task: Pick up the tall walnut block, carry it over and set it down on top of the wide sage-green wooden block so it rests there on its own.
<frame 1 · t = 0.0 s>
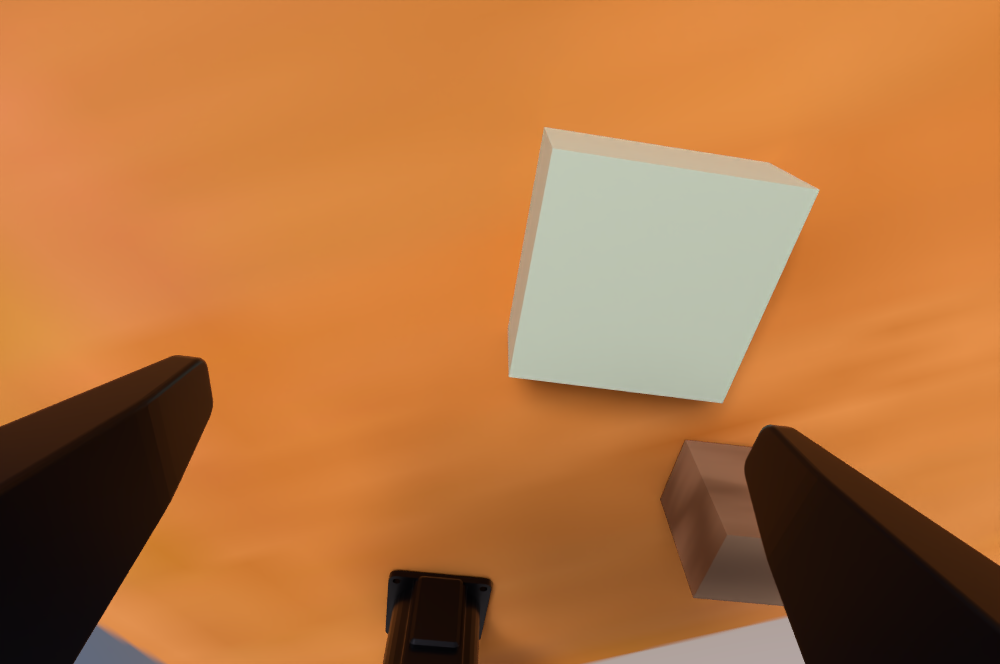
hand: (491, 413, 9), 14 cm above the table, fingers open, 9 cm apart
sage base block: (626, 251, 23), on the table
walnut block: (711, 474, 29), on the table
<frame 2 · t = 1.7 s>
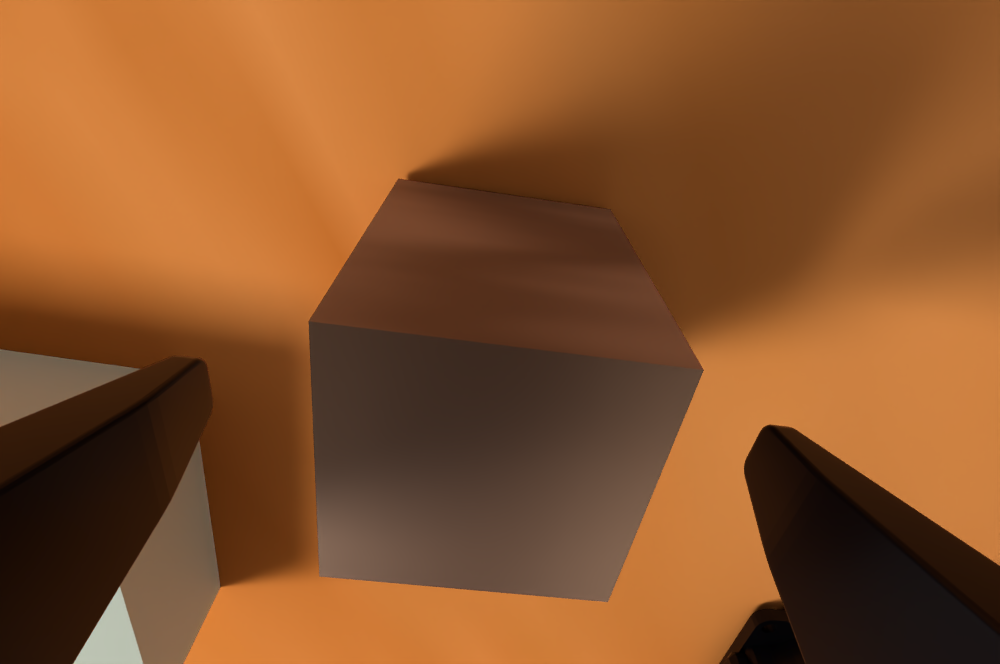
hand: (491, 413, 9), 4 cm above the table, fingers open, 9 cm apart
sage base block: (51, 474, 16), on the table
walnut block: (491, 289, 12), on the table
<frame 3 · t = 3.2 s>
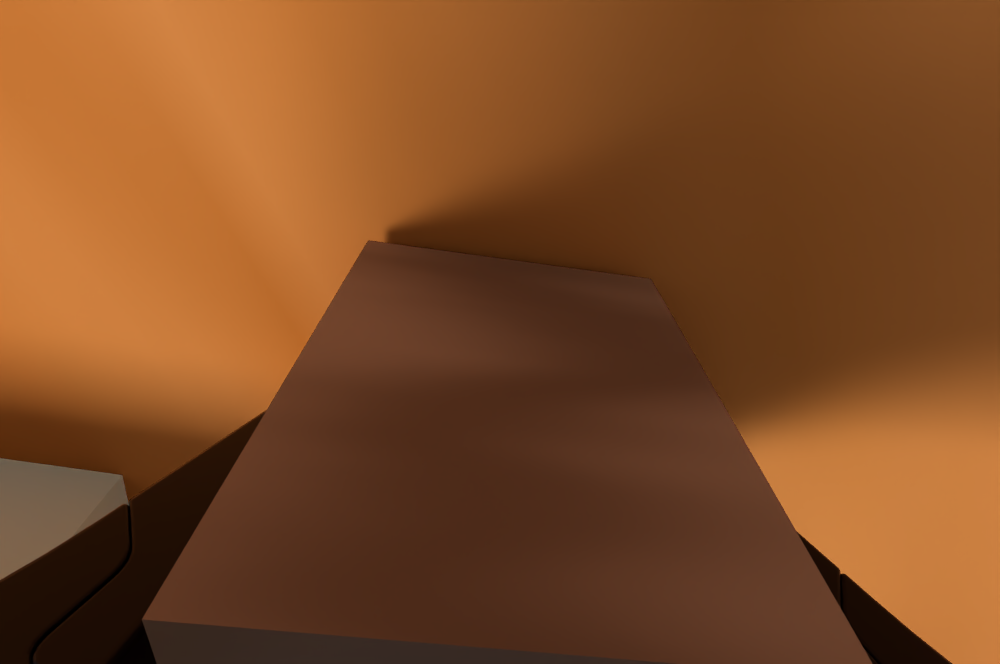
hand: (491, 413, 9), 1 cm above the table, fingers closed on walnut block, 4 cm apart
walnut block: (492, 376, 9), on the table, touching gripper
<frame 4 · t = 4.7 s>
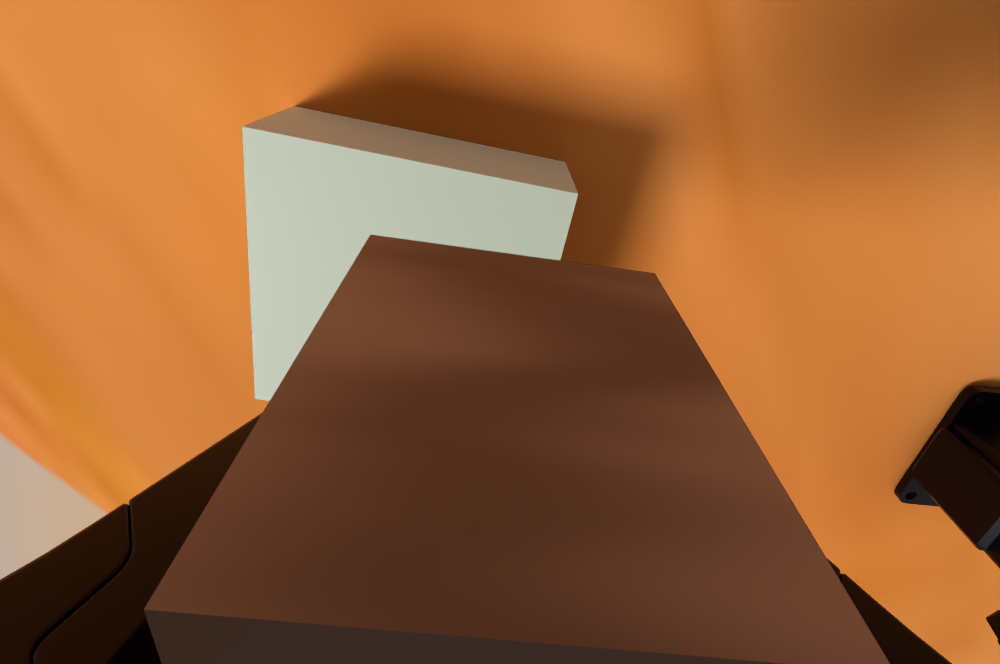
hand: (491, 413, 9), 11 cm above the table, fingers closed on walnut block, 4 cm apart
sage base block: (417, 258, 20), on the table
walnut block: (495, 371, 9), point 10 cm above the table, touching gripper
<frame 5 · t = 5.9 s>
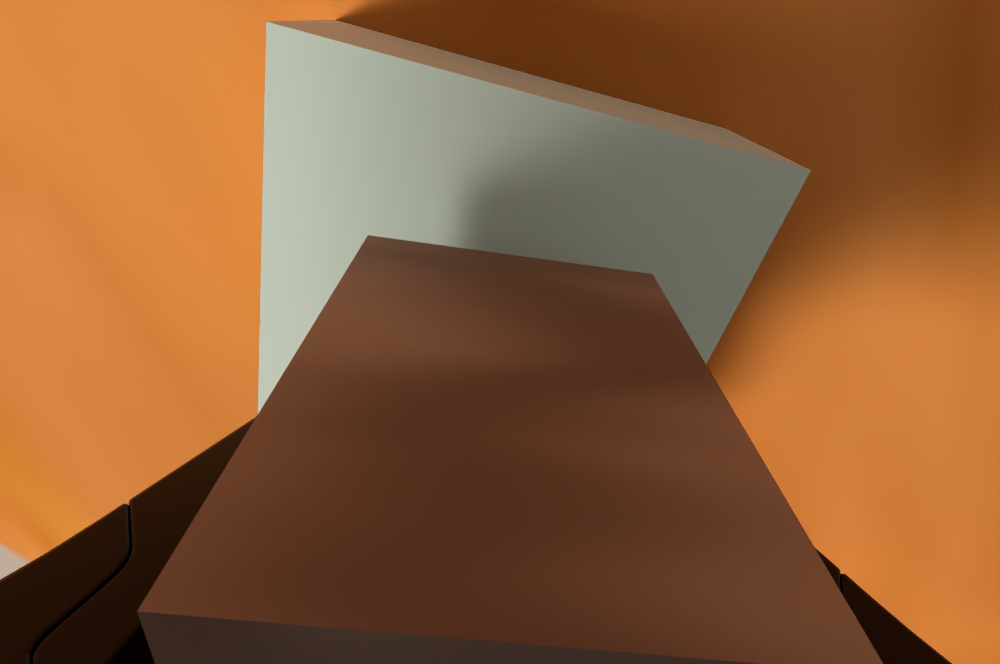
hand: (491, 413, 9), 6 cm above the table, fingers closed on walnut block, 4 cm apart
sage base block: (492, 258, 14), on the table
walnut block: (493, 372, 9), point 5 cm above the table, touching gripper
when the fingers open (6 cm above the table, at t = 6.6 s): walnut block drops 1 cm, point 4 cm above the table.
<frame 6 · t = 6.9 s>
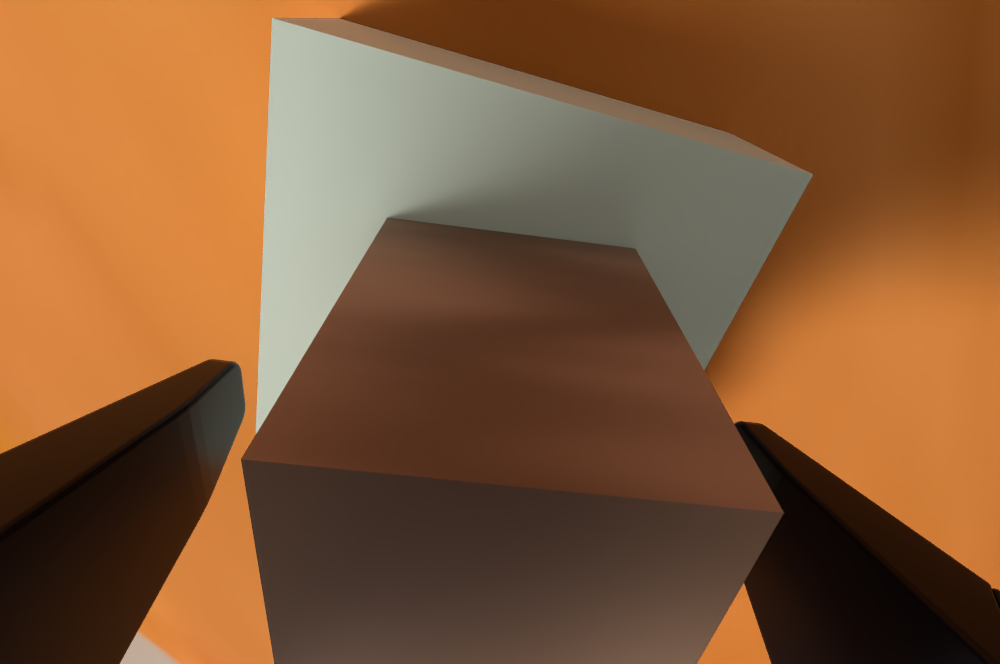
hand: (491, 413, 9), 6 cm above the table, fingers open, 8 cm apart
sage base block: (493, 258, 14), on the table
walnut block: (497, 339, 11), point 4 cm above the table
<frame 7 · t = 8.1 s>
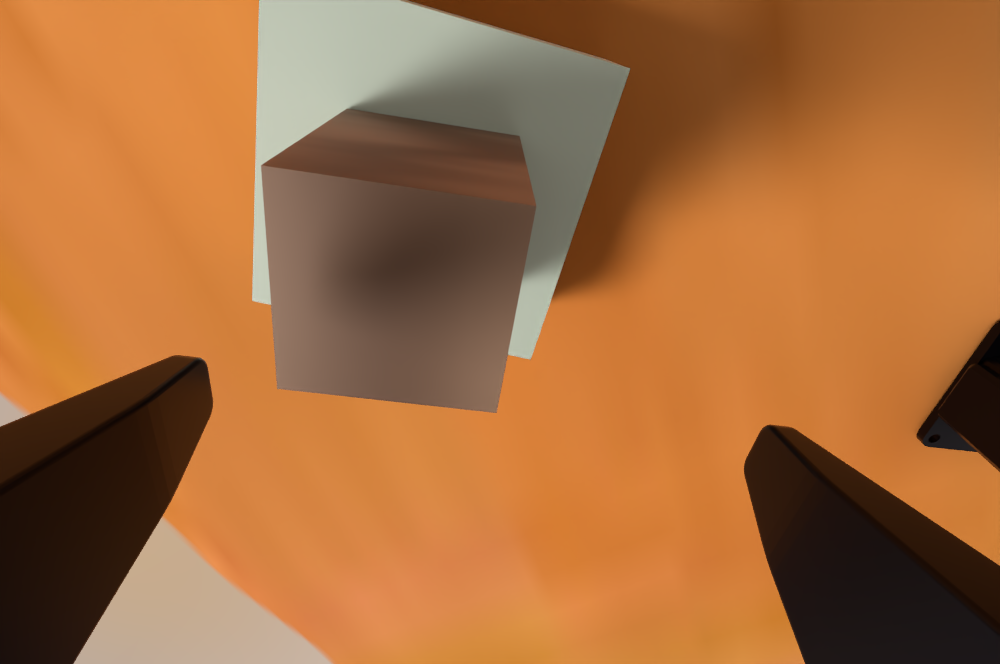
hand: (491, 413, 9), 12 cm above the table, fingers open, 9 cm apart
sage base block: (434, 163, 18), on the table
walnut block: (427, 205, 15), point 4 cm above the table
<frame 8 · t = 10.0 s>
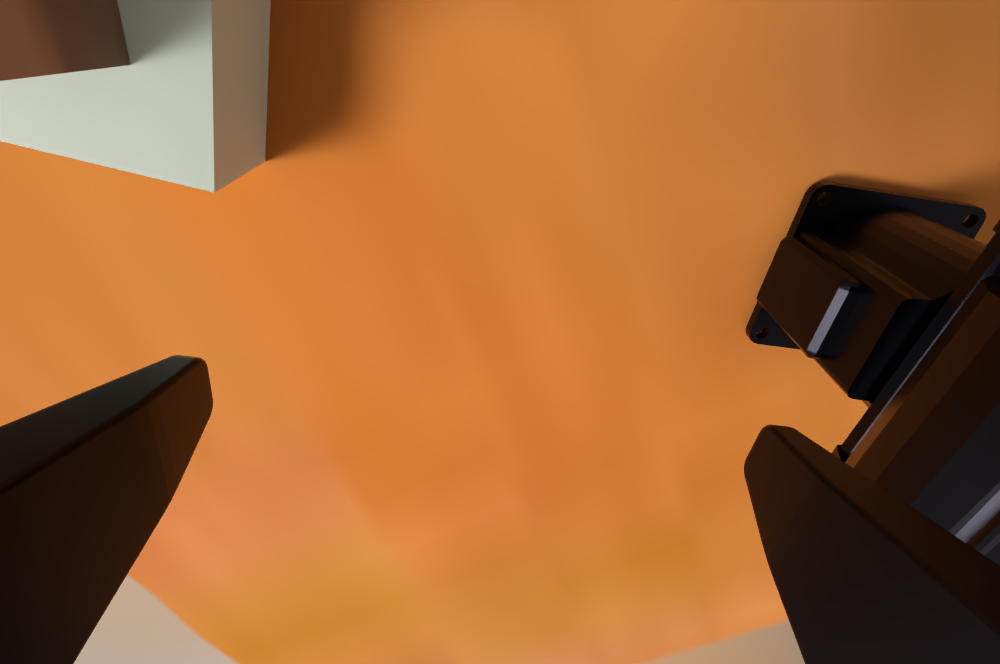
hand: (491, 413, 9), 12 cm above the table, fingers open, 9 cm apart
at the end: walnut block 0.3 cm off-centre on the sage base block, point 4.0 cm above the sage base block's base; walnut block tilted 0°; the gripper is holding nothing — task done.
